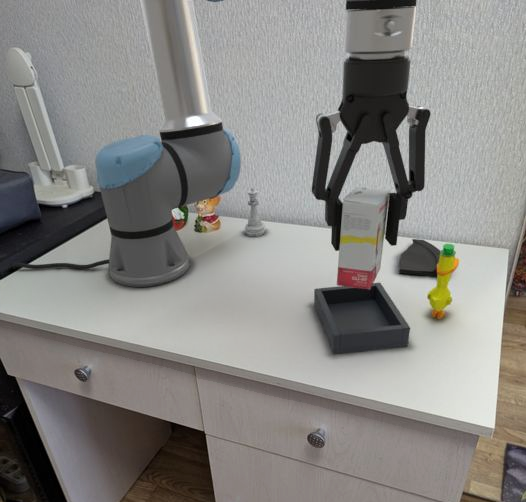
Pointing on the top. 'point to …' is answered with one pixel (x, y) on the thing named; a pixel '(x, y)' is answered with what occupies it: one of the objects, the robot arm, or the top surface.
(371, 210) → the ink box
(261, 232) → the chess piece
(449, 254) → the toy figure
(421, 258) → the dark sector wedge
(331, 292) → the dark gray rectangular tray
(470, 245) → the top surface
